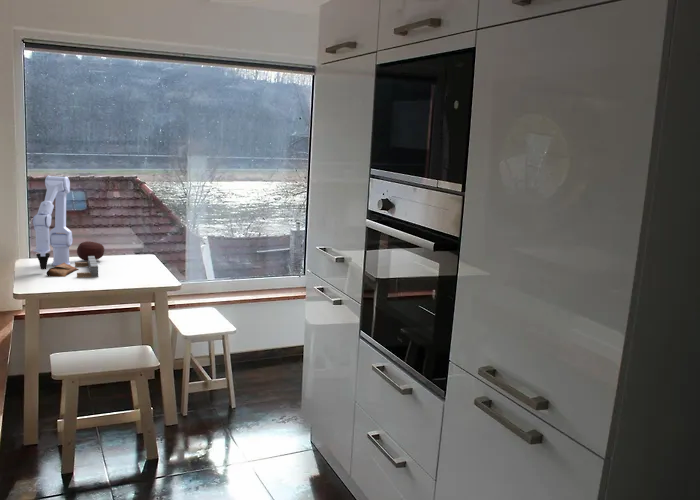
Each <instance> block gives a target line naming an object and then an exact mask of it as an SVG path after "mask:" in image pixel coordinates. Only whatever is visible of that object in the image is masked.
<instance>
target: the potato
mask: <svg viewBox="0 0 700 500" xmlns="http://www.w3.org/2000/svg"><path fill="white" fill-rule="evenodd" d="M104 254H105V246H104V245H103V243H102V244H101V243H99V242H96V241H88V240H87V241H83V242H80V244H79V245H77V249H76V255H77V256H78V258H79V259H81V260H82V261H84V262H88V256H95V259H96V261H97V260H99V259H102V257H103V256H104Z"/></svg>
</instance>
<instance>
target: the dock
mask: <svg viewBox="0 0 700 500" xmlns="http://www.w3.org/2000/svg"><path fill="white" fill-rule="evenodd" d="M74 267H75V268H86V267H87V268H88V270H89V271H84V272H83V271H82V272H81V271H80V272H76V278H77V279H78V278H79V279H81V278H84V279H85V278H99V265H98V261H97V260H96V259H95V256H88V261H81V262H78V261H77V262H76V261H75V262H74Z"/></svg>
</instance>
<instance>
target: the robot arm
mask: <svg viewBox="0 0 700 500" xmlns="http://www.w3.org/2000/svg"><path fill="white" fill-rule="evenodd" d="M44 185H45V189H46V192H45V197H44V201H41V202H40V204H39V208H38V211H37V214H35V215H34V216H33V217H32V225H33V229H34V231H35V249H33V250H32V251H33V252H34V253H36V258H37V259H38V262H39V267H40V270H47V267H48V261H49V257H50V256H51V253H50V252H51V248H52V254H53V261H52V266H53V267H55V266H57V265H60V264H62V263H64V262H65V263H66V264H68V265H70V266H71V261H70V247H71V246H72V244H73V241H74V240H73V239H74V238H73V231H72V230H70V229H69V228H68V227H67V195H68V194H70V192H71V181H70V179H69V177H68V176H59V175H58V176H57V175H55V176H53V175H47V176H46V177H45V180H44ZM54 201H55V203H54ZM54 204H55V206H54ZM54 209H55V212H54V215H55V218H54V220H55V221H54V224H55V225H54V227H53V228H51V230H50V227H51V225H52V219H53V217H52V213H53V210H54ZM50 246H51V247H50Z"/></svg>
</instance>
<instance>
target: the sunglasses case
mask: <svg viewBox="0 0 700 500" xmlns="http://www.w3.org/2000/svg"><path fill="white" fill-rule="evenodd" d="M79 270H80V269H79V268H78V267H75V266H72V265H71V264H70V265H68V264H66V263H65V262H64V263H62V264H60V265H57V266H53V267H50V268H49V269H48V270H47V272H46V276H47V277H50V278H51V277H56V278H57V277H58V278H65V277H67V276H68V275H70V274H72V273H74V272H77V271H79Z"/></svg>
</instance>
